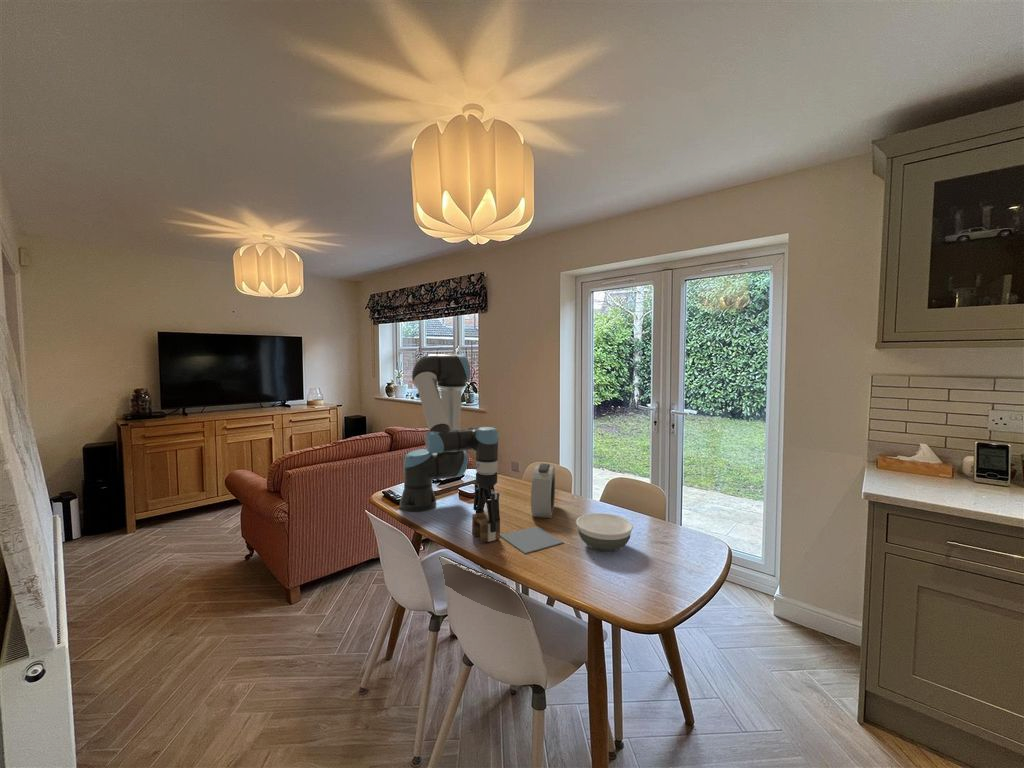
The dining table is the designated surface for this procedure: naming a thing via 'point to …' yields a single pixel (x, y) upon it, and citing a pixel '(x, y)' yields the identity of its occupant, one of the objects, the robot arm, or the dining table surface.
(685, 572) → the dining table surface
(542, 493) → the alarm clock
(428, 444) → the robot arm
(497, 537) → the notched open box
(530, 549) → the mat
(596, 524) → the bowl
